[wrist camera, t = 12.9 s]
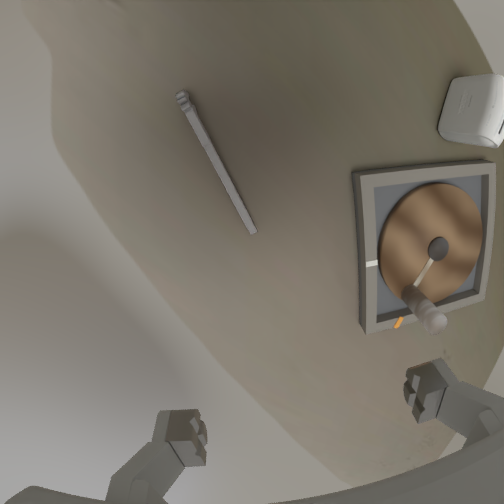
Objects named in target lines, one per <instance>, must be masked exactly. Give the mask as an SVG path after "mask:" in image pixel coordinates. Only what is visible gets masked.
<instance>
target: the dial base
mask: <svg viewBox="0 0 504 504" xmlns="http://www.w3.org/2000/svg"><path fill="white" fill-rule="evenodd" d="M352 180H353V190H354V201H355V214H356V228H357V244H358V265H359V307H360V325H361V327H362V329H363V330H364V332H365V334H370V333H375V332H379V331H382V330H386V329H390V328H398V327H399V326H401V325H405V324H409V323H412V322H416V321H419V320H418V318H417V317H416V316H415V315H414V313H413V312H412V311H411V310H410V309H409V307H408V306H407V305H406V304H405V303H404V301H402V300H401V299H399V298H398V297H397V296H395V295H394V294H393V292H392V291H391V290H390V289H389V288H388V286H387V285H386V284H385V282H384V280H383V279H382V276H381V274H380V270H379V266H378V258H377V253H378V242H379V238H380V234H381V231H382V228H383V225H384V223H385V221H386V219H387V217H388V215H389V213H390V212H391V210H392V209H393V207H394V206H395V205H396V204H397V202H398V201H399V200H400V199H401V198H402V197H403V196H405V195H406V194H407V193H408V192H410V191H411V190H413V189H415V188H416V187H419V186H421V185H424V184H428V183H434V182H440V183H446V184H450V185H453V186H455V187H458V188H460V189H462V190H463V191H464V192H466V193H467V194H468V195H469V196H470V197H471V198H472V199H473V201H474V202H475V204H476V206H477V208H478V210H479V213H480V216H481V221H482V229H483V236H482V245H481V249H480V253H479V256H478V259H477V262H476V264H475V266H474V268H473V270H472V272H471V273H470V275H469V276H468V278H467V279H466V280H465V282H464V283H463V284H462V285H461V286H460V287H459V288H458V289H457V290H456V291H455V292H453V293H452V294H451V295H449V296H448V297H446V298H444V299H442V300H441V301H438V302H435V303H433V304H434V305H435V306H436V307H437V308H438V309H439V310H440V312H441V313H442V314H443V313H446V312H449V311H452V310H455V309H459V308H462V307H465V306H468V305H471V304H474V303H476V302H479V301H482V300H484V299H485V293H486V287H487V281H488V275H489V268H490V261H491V253H492V244H493V233H494V220H495V201H496V163H495V162H491V161H487V160H469V161H455V162H442V163H431V164H420V165H410V166H400V167H391V168H382V169H374V170H365V171H357V172H352Z"/></svg>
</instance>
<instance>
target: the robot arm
mask: <svg viewBox="0 0 504 504" xmlns="http://www.w3.org/2000/svg"><path fill="white" fill-rule="evenodd" d="M406 377H407V381H406V382H405V383H404V388H403V391H404V397H405V400H406V402H407V404H408V405H409V406H411V407H413V410H412V414H413V416H414V418H415V420H416V421H417V423H418V424H419V423H422V422H425V421H428V420H431V419H434V418H436V419H437V420H439V421H441V422H442V423H444V424H445V425H447V426H448V427H450V428H452V429H453V430H455V431H456V432H458V433H460V434H461V435H463V436H464V437H466V438H467V440H466V442H465V444H464V446H463V447H462V449H461V450H459V451H457V452H455V453H452V454H450V455H448V456H445V457H443V458H441V459H438V460H436V461H434V462H431V463H429V464H426V465H424V466H421V467H418V468H416V469H413V470H410V471H407V472H405V473H402V474H399V475H396V476H393V477H390V478H387V479H383V480H380V481H377V482H373V483H370V484H366V485H363V486H359V487H355V488H352V489H347V490H343V491H339V492H335V493H330V494H325V495H320V496H316V497H310V498H304V499H299V500H292V501H286V502H278V503H272V504H504V398H503V397H500V396H498V395H496V394H493V393H491V392H488V391H485V390H483V389H481V388H478V387H476V386H473V385H471V384H468V383H466V382H464V381H462V382H459V380H458V379H457V378H456V376H455V375H454V373H453V372H452V371H451V369H450V368H449V367H448V365H447V364H446V363H445V361H444V360H443V359H442V358H438V359H435V360H432V361H430V362H426V363H423V364H420V365H417V366H414V367H411V368H408V369H407V371H406ZM206 444H207V430H206V426H205V424H204V422H203V421H201V420H200V413H199V411H198V409H190V410H166V411H160V412H159V413H158V415H157V420H156V424H155V429H154V433H153V438H152V442H148V443H147V444H146V445H145V446H144V447H143V448H142V449H141V450H139V451H138V452H137V453H136V454H135V455H134V456H133V457H132V458H131V459H130V460H129V461H128V462H127V463H126V464H125V465H123V466H122V468H120V469H119V470H118V471H117V472H116V473H115V474H114V475H113V476H112V477H111V481H110V485H109V488H108V492H107V496H106V500H105V501H103V500H97V499H91V498H85V497H80V496H76V495H71V494H66V493H62V492H58V491H54V490H50V489H46V488H43V487H39V486H29V487H27V488H26V489H24V490H22V491H21V492H19V493H17V494H16V495H15V496H13V497H12V498H10V499H9V500H8V501H6V503H5V504H168V503H167V502H166V501H165V500H164V499H163V498H162V497H163V496H164V495H165V493H166V492H167V491H168V489H169V488H170V487H171V486H172V484H173V483H174V482H175V481H176V479H177V478H178V476H179V475H180V474H181V473H182V471H183V470H184V469H185V467H192V466H205V465H206V451H205V449H204V446H205V445H206ZM270 504H271V503H270Z"/></svg>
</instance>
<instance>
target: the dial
mask: <svg viewBox="0 0 504 504" xmlns="http://www.w3.org/2000/svg"><path fill="white" fill-rule="evenodd" d="M482 236H483V229H482V221H481V216H480V213H479V210H478V208H477V206H476V204H475V202H474V201H473V199H472V198H471V197H470V196H469V195H468V194H467V193H466V192H464V191H463V190H462V189H460V188H458V187H455V186H453V185H450V184H446V183H440V182H434V183H428V184H424V185H421V186H419V187H416V188H415V189H413V190H411V191H410V192H408V193H407V194H406V195H405V196H403V197H402V198H401V199H400V200H399V201H398V202H397V204H396V205H395V206H394V207H393V209H392V210H391V212H390V213H389V215H388V217H387V219H386V221H385V223H384V225H383V228H382V231H381V234H380V238H379V242H378V253H377V258H378V266H379V270H380V274H381V276H382V279H383V280H384V282H385V284H386V285H387V286H388V288H389V289H390V290H391V291H392V292H393V294H394V295H395V296H397V297H398V298H399V299H401V300H402V301H404V303H405V304H406V305H407V306H408V307H409V309H410V310H411V311H412V312H413V313H414V315H415V316H416V317H417V318H418V320H419V321H420V322H421V323H422V324H423V326H424V327H425V328H426V329H427V331H428V332H429V333H430V334H431V335H437V334H439V333H441V332H442V331H443V330H444V329H445V327H446V325H447V318H446V317H445V316H444V315H443V314H442V313H441V312H440V310H439V309H438V308H437V307H436V306H435V305H434V304H433V303H435V302H438V301H441V300H442V299H444V298H446V297H448V296H449V295H451V294H452V293H453V292H455V291H456V290H457V289H458V288H459V287H460V286H461V285H462V284H463V283H464V282H465V280H466V279H467V278H468V276H469V275H470V273H471V272H472V270H473V268H474V266H475V264H476V262H477V259H478V256H479V253H480V249H481V245H482Z"/></svg>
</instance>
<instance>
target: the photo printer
mask: <svg viewBox="0 0 504 504" xmlns="http://www.w3.org/2000/svg"><path fill="white" fill-rule="evenodd" d="M438 131H439V133H440V135H441V136H442V138H444V139H445V140H447V141H454V142H460V143H467V144H474V145H480V146H486V147H492V148H497V147H498V146H499V145H500V144H501V142H502V141H503V139H504V76H501V75H497V74H484V75H475V76H467V77H460V78H455V79H453V80H452V82H451V84H450V87H449V90H448V93H447V97H446V100H445V103H444V107H443V110H442V114H441V117H440V121H439V125H438Z"/></svg>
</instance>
